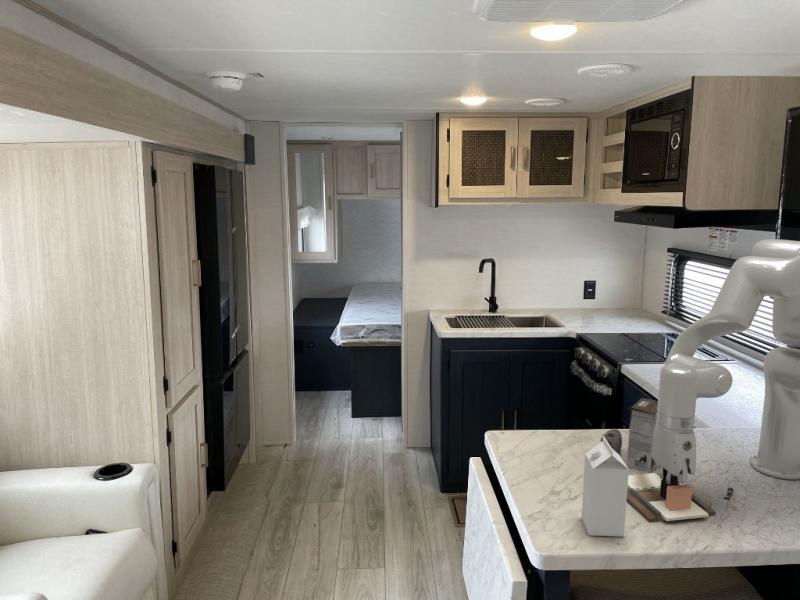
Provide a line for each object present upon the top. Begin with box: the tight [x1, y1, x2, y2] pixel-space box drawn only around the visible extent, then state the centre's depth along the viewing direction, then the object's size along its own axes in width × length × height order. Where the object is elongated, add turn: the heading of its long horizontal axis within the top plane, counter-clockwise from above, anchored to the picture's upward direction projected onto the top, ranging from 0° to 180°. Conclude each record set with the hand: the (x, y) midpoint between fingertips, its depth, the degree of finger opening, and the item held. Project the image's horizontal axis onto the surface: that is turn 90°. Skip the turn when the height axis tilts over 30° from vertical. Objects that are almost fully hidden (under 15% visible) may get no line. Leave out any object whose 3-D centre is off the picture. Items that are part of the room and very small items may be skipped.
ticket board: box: [626, 472, 716, 523], centre depth 141 cm, size 16×19×2 cm
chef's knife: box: [710, 487, 734, 523], centre depth 138 cm, size 19×1×3 cm
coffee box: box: [626, 397, 658, 473], centre depth 157 cm, size 9×6×16 cm
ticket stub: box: [649, 483, 710, 522], centre depth 133 cm, size 10×7×6 cm
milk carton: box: [580, 435, 630, 537], centre depth 127 cm, size 7×7×19 cm
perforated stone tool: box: [600, 428, 623, 455], centre depth 163 cm, size 15×5×7 cm, turn 150°
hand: (668, 497), depth 137 cm, fingers closed
